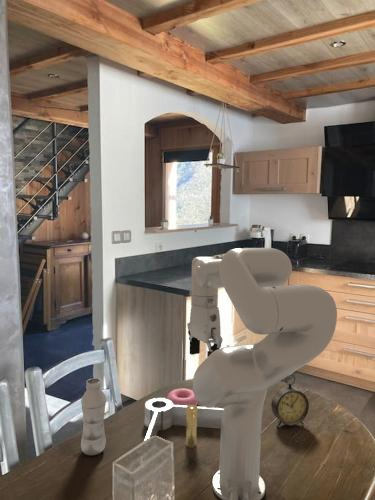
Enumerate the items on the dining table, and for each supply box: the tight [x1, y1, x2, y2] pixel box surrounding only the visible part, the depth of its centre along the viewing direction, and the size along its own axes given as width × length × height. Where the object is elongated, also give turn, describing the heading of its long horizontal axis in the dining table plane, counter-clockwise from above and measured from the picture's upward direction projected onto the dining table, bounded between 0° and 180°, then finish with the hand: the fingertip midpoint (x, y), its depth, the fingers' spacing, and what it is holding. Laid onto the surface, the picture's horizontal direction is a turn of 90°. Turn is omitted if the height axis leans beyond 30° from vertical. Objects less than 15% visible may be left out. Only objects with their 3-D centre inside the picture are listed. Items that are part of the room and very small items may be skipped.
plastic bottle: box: [80, 377, 107, 456], centre depth 111 cm, size 6×7×20 cm
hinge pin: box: [185, 405, 198, 449], centre depth 115 cm, size 3×3×11 cm
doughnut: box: [165, 387, 199, 406], centre depth 139 cm, size 11×11×4 cm
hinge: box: [143, 397, 224, 442], centre depth 118 cm, size 24×24×6 cm
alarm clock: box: [270, 374, 310, 429], centre depth 127 cm, size 11×5×16 cm, turn 104°
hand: (203, 359), depth 118 cm, fingers open, 9 cm apart
